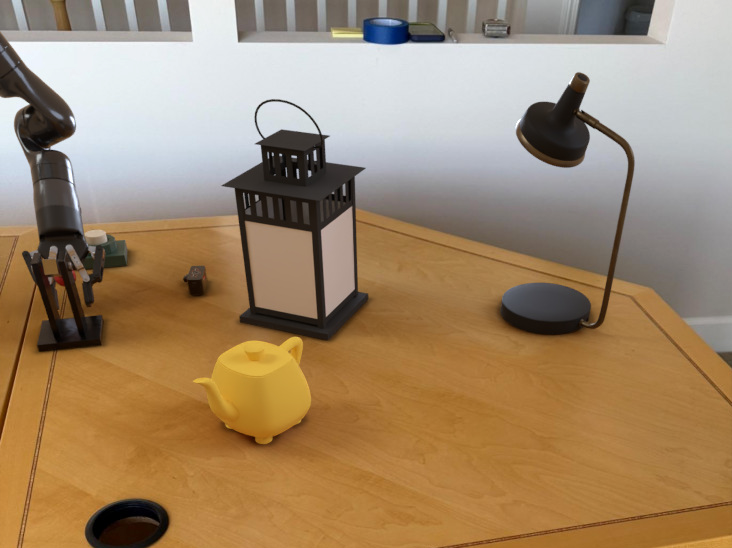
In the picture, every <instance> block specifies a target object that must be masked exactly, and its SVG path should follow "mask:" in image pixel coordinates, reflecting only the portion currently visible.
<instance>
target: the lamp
mask: <svg viewBox="0 0 732 548" xmlns="http://www.w3.org/2000/svg"><path fill="white" fill-rule="evenodd" d="M590 82H591V80H590V77H589V76H588V74H585V73H584V72H581V71H577V72H575V73H574V75H573V76H572V77H571V79H570V80H569V83H568V85H567V86H566V88H565V89H564V91H563V92H562V94H561V95H560V97H559V99H558V101H557V102H552V101H537V102H534V103H532V104H530V105H529V106H528V108H527V109H526V110H525V112H524V113H523V114H522V116H521V118H520V119H519V120H518V121H517V122H516V124H515V135H516V138H517V140H518V142H519V143H520V145H521V146H522V147H523V148H524V149H525V150H526V152H527V153H528V154H530V155H531V156H533V157H534V158H536V159H537V160H539V161H541V162H542V163H545V164H547V165H550V166H552V167H557V168H563V169H570V168H575V167H577V166H579V165H581V164H582V163H583V162H584V159H585V158H586V151H587V149H588V146H589V143H590V140H591V135H590V129H589V128H588V126H589V127H590V128H592V129H594V130H597V131H598V132H600V133H601V134H603V135H605V136H606V137H608V138H609V139H610V140H611V141H613V142H615V143H616V144H617V145H619V147H621V148H622V149H623V151H624V153H625V155H626V160H627V172H626V177H625V183H624V187H623V193H622V198H621V202H620V209H619V213H618V219H617V224H616V228H615V229H616V230H615V233H614V239H613V244H612V250H611V254H610V260H609V264H608V271H607V274H606V275H607V276H606V281H605V287H604V291H603V296H602V303H601V307H600V310H599V316H598V318H597V320H596V321H595V322H594V323H591V322H590V317H591V315H590V314H591V308H592V303H591V301H590V299H589V298H588V297H587V296H586V295H585V294H584V293H582V292H581V291H579V290H577V289H575V288H572V287H570V286H567V285H563V284H559V283H552V282H527V283H522V284H518V285H515V286H512V287H510V288H509V289H507V290H506V291H505V292H504V293H503V295H502V297H501V304H500V309H499V313H500V316H501V317H502V319H503V320H504V321H505V322H507V323H508V324H509V325H511V326H513V327H514V328H517V329H519V330H522V331H525V332H528V333H533V334H537V335H550V336H551V335H552V336H553V335H565V334H570V333H573V332H576V331H579V330H581V329H583V328H585V329H588V330H595V329H598V328H599V327H601V326H602V325H603V323H604V322H605V319H606V315H607V311H608V307H609V302H610V298H611V292H612V286H613V283H614V278H615V277H614V276H615V272H616V268H617V261H618V258H619V257H618V256H619V251H620V248H621V247H620V246H621V241H622V236H623V231H624V226H625V221H626V216H627V211H628V205H629V201H630V200H629V199H630V196H631V190H632V184H633V179H634V175H635V164H636V161H635V156H634V155H635V154H634V151H633V148H632V146H631V145H630V143H629V142H628V141H627V140H626V139H625V138H624V137H623V136H622V135H620V134H619V133H617V132H616V131H614V130H613V129H611V128H610V127H608V126H606V125H605V124H603V123H602V122H601V121H600V120H599V119H598V118H596V117H594V116H593V115H591V114H590V113H588V112H587V111H585V110H583V109H581V105H582V103H583V100H584V97H585V95H586V92H587V90H588V87H589V85H590Z"/></svg>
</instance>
